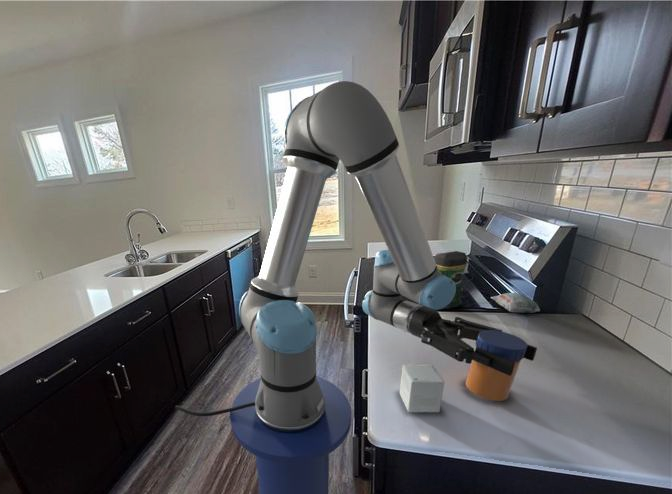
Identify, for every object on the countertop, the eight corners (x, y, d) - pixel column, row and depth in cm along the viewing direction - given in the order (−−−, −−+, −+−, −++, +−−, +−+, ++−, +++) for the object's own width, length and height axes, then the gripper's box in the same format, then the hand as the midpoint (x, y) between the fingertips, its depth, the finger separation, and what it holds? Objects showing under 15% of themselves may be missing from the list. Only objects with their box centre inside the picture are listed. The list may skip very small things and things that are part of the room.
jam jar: (490, 404, 62) (506, 355, 58) (457, 382, 69) (470, 336, 65) (516, 396, 65) (534, 348, 60) (482, 375, 71) (496, 331, 67)
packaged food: (508, 317, 98) (512, 302, 96) (489, 302, 108) (492, 289, 107) (539, 317, 96) (543, 302, 95) (516, 302, 107) (520, 289, 105)
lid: (534, 358, 60) (538, 347, 59) (500, 363, 59) (504, 351, 58) (497, 338, 68) (500, 328, 67) (466, 342, 66) (469, 331, 65)
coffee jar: (445, 299, 114) (453, 248, 107) (464, 306, 106) (473, 252, 100) (423, 303, 111) (429, 251, 104) (440, 311, 104) (448, 256, 97)
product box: (440, 413, 62) (445, 382, 59) (407, 413, 62) (411, 382, 60) (428, 393, 67) (432, 363, 65) (398, 393, 68) (402, 363, 65)
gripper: (440, 322, 84) (543, 360, 66) (387, 346, 75) (490, 398, 56) (444, 296, 82) (553, 328, 63) (390, 317, 72) (499, 362, 54)
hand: (523, 361), depth 60 cm, fingers closed on lid, 8 cm apart
